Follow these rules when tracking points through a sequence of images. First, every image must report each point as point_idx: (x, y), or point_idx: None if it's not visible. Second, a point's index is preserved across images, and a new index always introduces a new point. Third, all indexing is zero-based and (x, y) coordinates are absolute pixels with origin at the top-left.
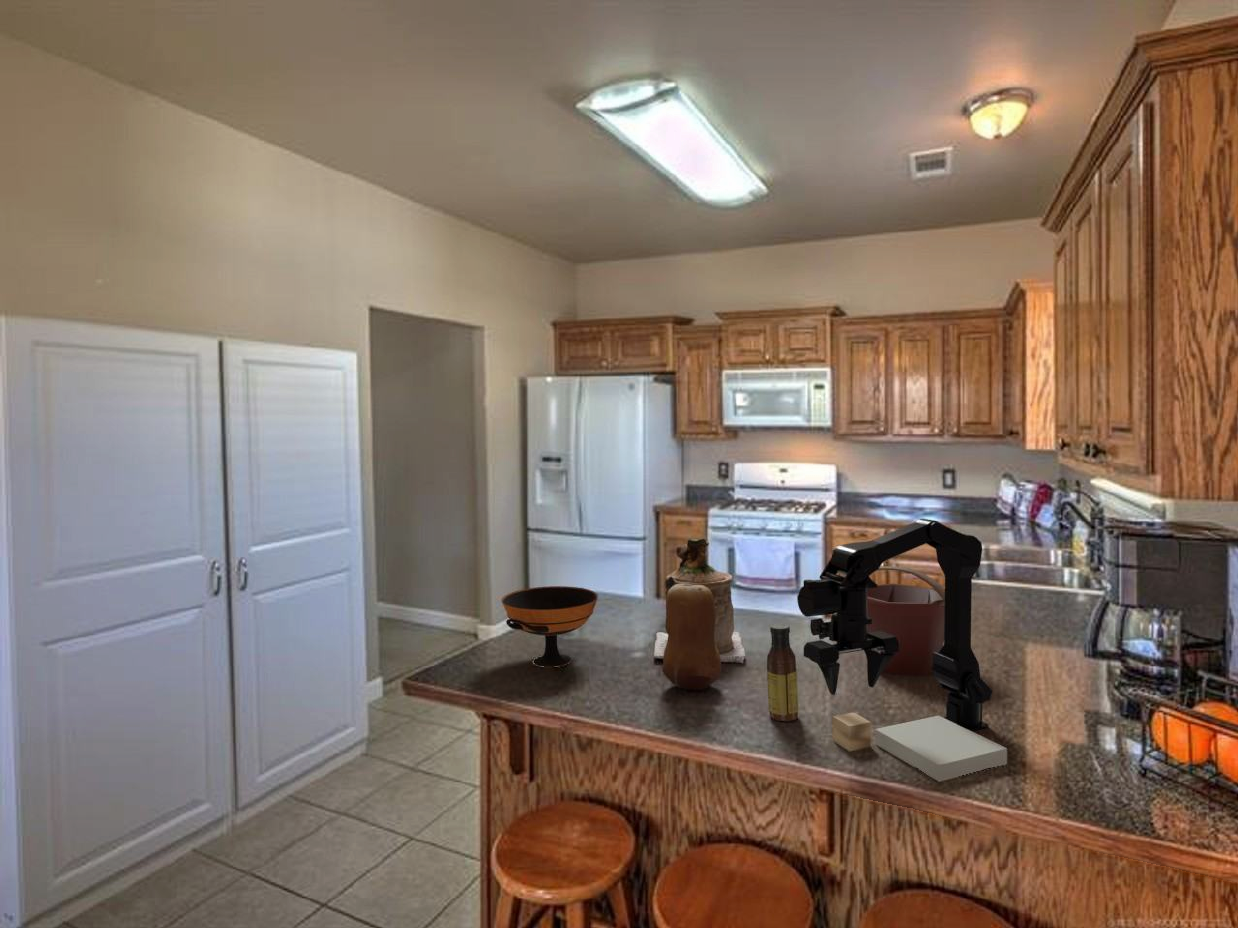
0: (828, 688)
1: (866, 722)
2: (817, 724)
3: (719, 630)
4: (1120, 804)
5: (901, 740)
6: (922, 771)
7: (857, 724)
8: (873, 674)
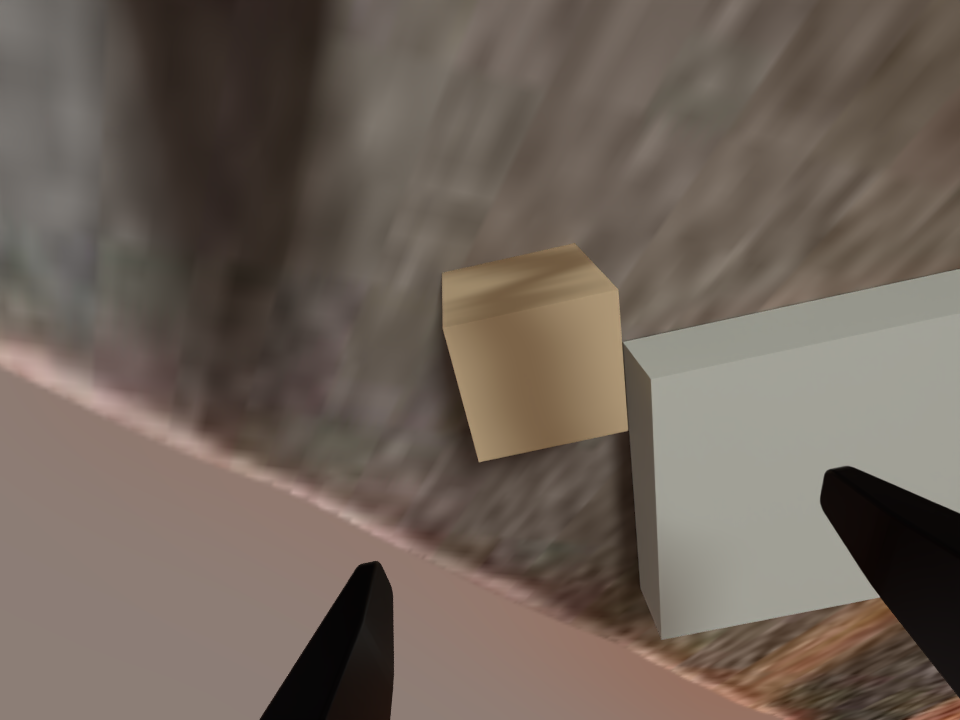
0: (336, 603)
1: (600, 432)
2: (444, 20)
3: None
4: (938, 678)
5: (679, 494)
6: (637, 543)
7: (534, 449)
8: (945, 641)
